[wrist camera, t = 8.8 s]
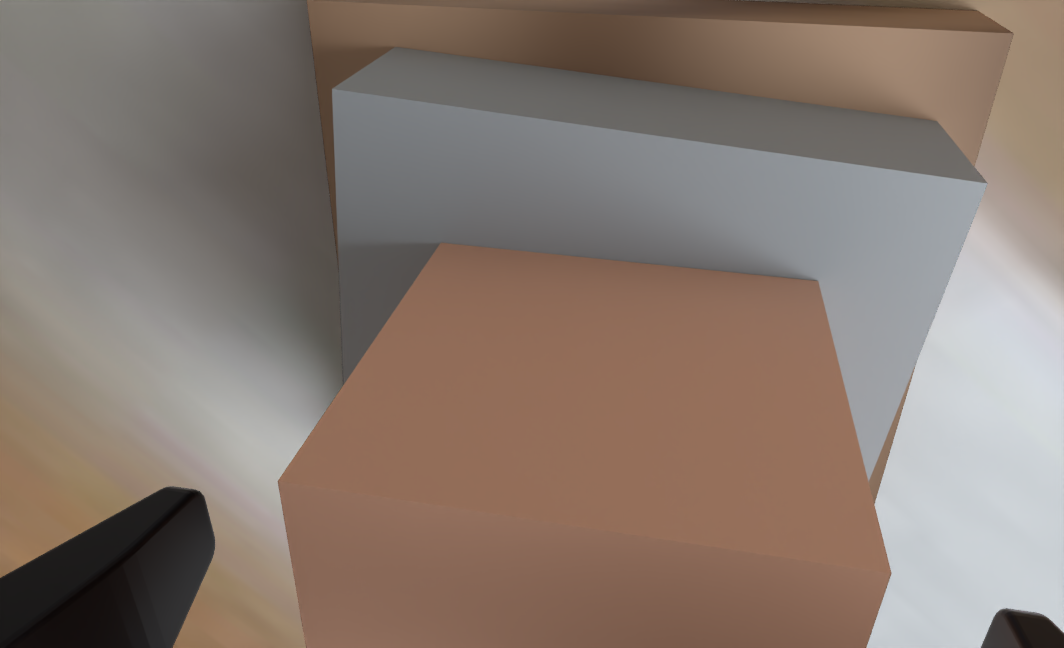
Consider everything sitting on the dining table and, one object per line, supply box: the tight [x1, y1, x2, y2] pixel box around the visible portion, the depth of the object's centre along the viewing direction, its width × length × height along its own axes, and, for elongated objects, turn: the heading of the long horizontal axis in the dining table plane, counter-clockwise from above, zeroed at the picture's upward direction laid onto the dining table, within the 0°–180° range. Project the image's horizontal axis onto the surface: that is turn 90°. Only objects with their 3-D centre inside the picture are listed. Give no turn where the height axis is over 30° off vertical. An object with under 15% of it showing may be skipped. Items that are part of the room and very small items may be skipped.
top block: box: [332, 47, 988, 482], centre depth 13 cm, size 8×8×2 cm
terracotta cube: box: [278, 243, 891, 648], centre depth 10 cm, size 5×5×5 cm
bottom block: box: [307, 0, 1014, 503], centre depth 15 cm, size 10×10×2 cm
